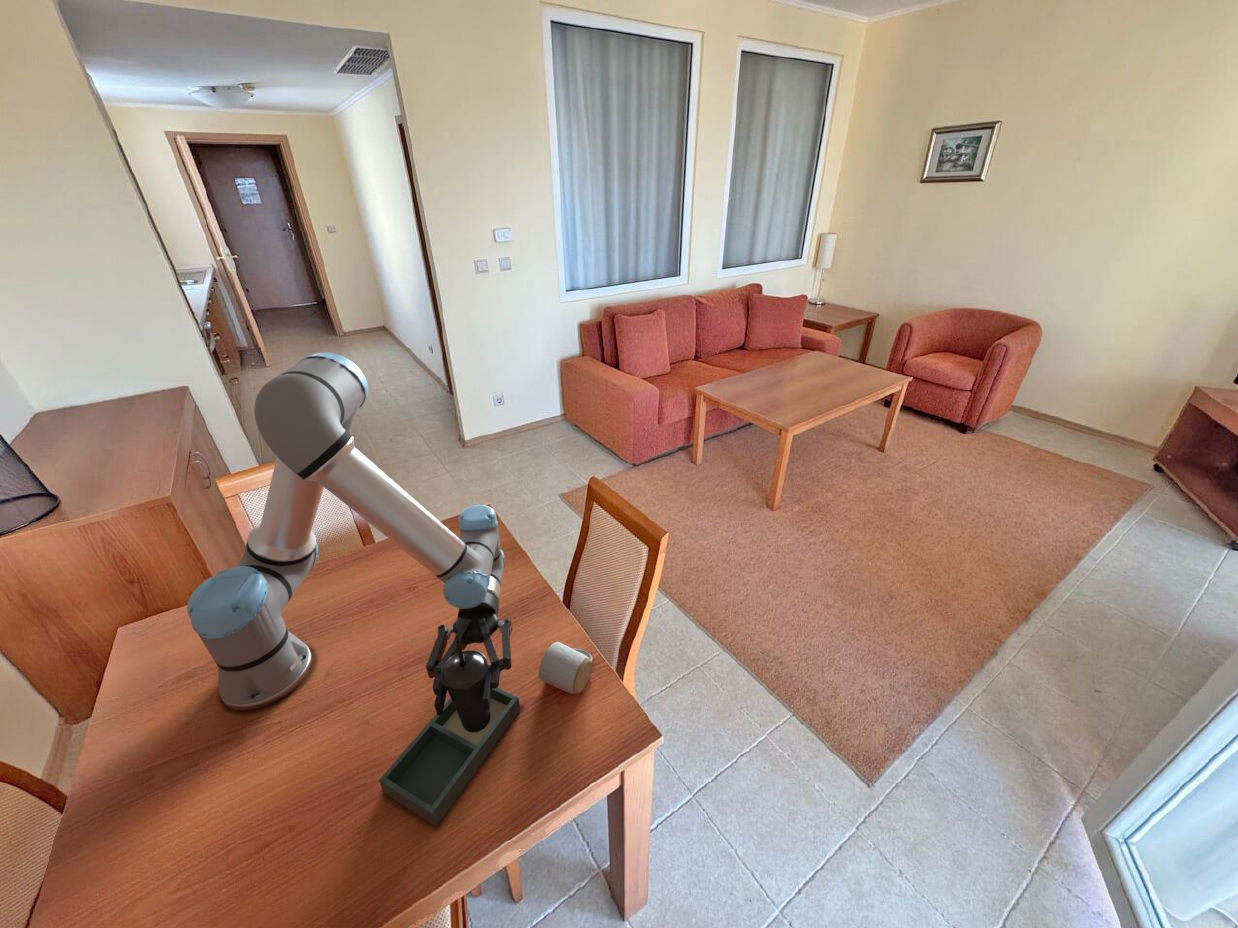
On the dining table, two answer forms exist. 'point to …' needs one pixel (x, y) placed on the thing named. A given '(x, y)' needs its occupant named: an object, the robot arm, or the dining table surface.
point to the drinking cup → (467, 687)
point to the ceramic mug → (566, 668)
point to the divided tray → (445, 758)
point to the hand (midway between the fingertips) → (462, 706)
